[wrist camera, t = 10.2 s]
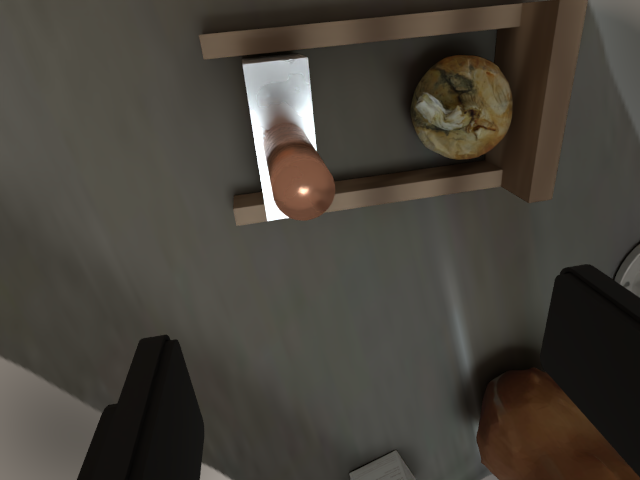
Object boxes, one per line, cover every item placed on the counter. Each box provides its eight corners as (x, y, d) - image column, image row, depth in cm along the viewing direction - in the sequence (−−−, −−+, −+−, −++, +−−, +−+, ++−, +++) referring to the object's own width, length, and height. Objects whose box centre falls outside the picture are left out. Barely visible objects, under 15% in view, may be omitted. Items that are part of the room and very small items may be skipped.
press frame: (523, 3, 33) (588, -4, 27) (503, 172, 39) (552, 199, 33) (202, 34, 30) (192, 35, 24) (236, 211, 37) (236, 248, 31)
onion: (417, 166, 38) (458, 197, 31) (383, 83, 34) (420, 97, 27) (493, 123, 37) (553, 144, 30) (466, 34, 33) (527, 35, 26)
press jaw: (296, 52, 31) (338, 69, 18) (310, 185, 36) (351, 276, 22) (242, 58, 30) (243, 79, 17) (263, 192, 35) (277, 289, 22)
